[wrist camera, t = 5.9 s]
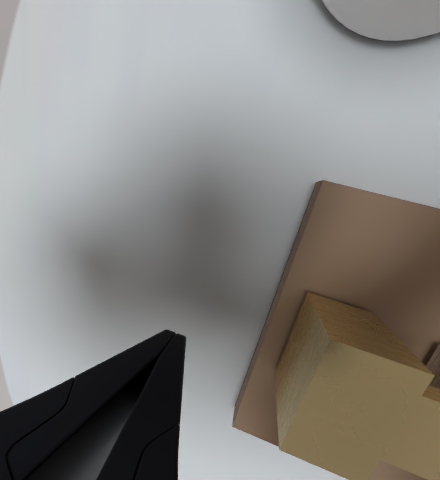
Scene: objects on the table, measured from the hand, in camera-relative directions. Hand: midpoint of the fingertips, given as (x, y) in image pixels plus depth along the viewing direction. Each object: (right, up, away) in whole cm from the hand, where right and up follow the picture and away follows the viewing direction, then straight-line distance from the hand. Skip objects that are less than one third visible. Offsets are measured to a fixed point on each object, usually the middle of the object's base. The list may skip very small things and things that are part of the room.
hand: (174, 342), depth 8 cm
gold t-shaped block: (+8, -2, +2) cm, 8 cm away
